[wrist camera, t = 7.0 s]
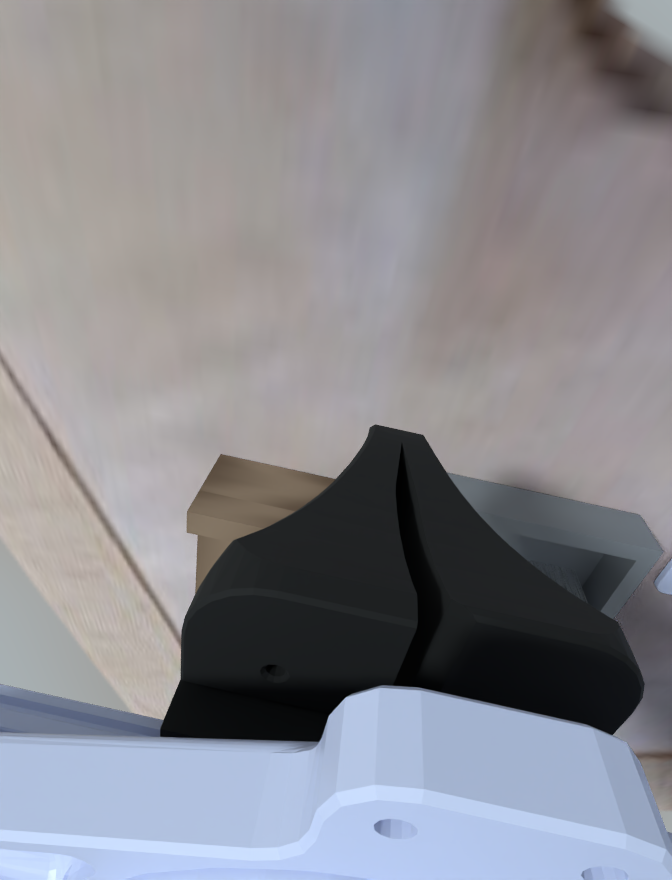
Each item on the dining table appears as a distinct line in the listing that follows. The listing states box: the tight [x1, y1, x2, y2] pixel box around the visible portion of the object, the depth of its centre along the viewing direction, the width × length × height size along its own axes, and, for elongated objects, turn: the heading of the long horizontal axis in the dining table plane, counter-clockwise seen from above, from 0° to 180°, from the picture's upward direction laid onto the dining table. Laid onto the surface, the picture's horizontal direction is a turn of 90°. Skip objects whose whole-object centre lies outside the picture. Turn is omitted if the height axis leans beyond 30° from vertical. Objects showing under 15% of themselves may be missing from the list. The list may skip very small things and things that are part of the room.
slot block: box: [187, 454, 335, 594], centre depth 25 cm, size 11×8×4 cm
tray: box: [447, 473, 663, 619], centre depth 26 cm, size 10×12×2 cm
